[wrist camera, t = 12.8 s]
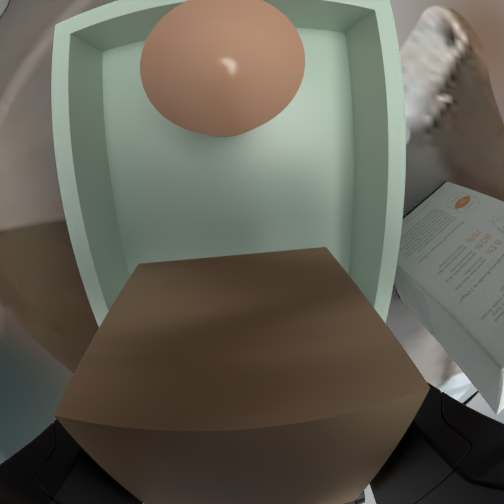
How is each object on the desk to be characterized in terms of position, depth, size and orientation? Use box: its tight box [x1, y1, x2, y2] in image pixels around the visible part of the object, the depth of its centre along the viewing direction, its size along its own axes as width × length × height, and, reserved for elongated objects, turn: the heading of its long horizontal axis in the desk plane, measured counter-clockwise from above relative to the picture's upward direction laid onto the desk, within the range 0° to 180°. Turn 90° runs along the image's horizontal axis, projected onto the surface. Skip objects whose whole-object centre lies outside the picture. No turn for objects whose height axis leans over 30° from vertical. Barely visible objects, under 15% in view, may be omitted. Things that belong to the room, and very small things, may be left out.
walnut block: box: [55, 247, 430, 504], centre depth 6 cm, size 5×5×5 cm
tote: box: [51, 0, 406, 327], centre depth 14 cm, size 18×16×5 cm
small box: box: [394, 182, 504, 415], centre depth 13 cm, size 8×6×13 cm
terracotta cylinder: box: [140, 0, 305, 137], centre depth 10 cm, size 5×5×7 cm
